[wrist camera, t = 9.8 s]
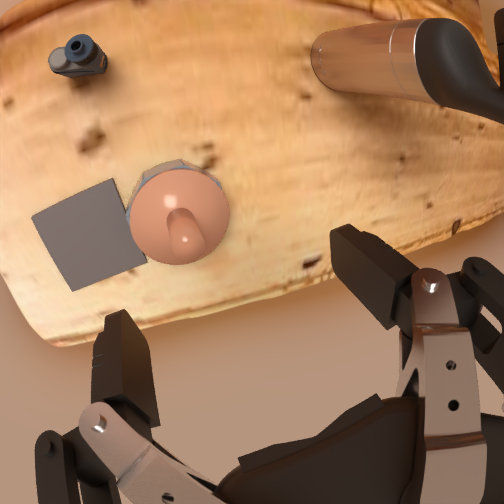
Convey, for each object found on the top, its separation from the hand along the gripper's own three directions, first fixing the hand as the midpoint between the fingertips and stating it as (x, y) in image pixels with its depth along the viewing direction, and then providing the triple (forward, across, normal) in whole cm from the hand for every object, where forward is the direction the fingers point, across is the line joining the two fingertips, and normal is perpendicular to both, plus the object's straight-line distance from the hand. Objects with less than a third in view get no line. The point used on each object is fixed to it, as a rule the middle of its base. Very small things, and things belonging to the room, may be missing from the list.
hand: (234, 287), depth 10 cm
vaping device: (+26, +6, -14) cm, 30 cm away
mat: (+26, +14, +6) cm, 30 cm away
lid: (+22, +2, +6) cm, 23 cm away
